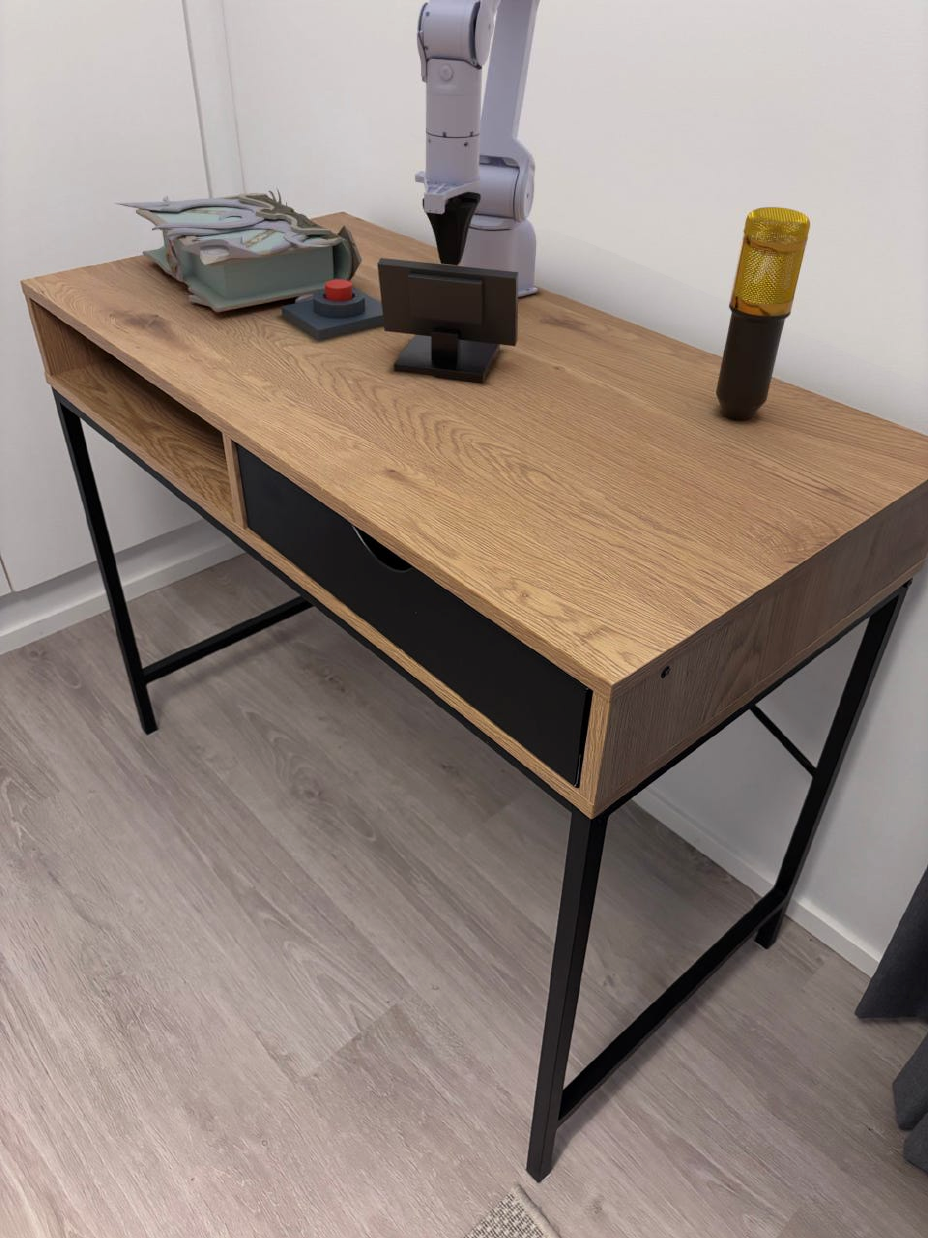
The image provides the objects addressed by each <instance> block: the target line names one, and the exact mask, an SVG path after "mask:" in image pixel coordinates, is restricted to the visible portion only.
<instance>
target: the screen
mask: <svg viewBox="0 0 928 1238" xmlns="http://www.w3.org/2000/svg"><path fill="white" fill-rule="evenodd" d="M376 264H377V265H376V266H377V273H378V283H379V291H380V292H379V293H380V300H381V301H380V302H381V303H382V312H383V321H384V325H383V330H384V332H387V333H388V332H390V333H398V334H406V335H413V336H415V335H422V336H431V332H432V330H433V329H434V327H437V328H446V329H455V330H461V340H465V341H474V342H482V343H491V344H500V346H509V347H516V345H517V343H518V338H519V337H518V333H519V331H518V330H519V327H518V326H519V297H518V272H512V271H502V270H492V269H483V268H473V267H464V266H460V265H457V266H456V265H448V264H441V263H434V262H425V261H414V260H405V259H395V258H385V257H380V258H379V259H378V261H377V263H376Z"/></svg>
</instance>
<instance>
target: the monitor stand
mask: <svg viewBox="0 0 928 1238" xmlns="http://www.w3.org/2000/svg"><path fill="white" fill-rule="evenodd" d="M500 351H501V345H500V344H491V343H482V342H474V341H465V340H461V330H455V329H446V328H437V327H434V329H433V330H432V332H431V336H422V335H413V337H412V338H411V340H410V341H409V343H408V344H407V345H406V346H405V348H404V349H403V351H402V352H401V353H400V355H399V356H398V357H397V359H396V360H395V362H394V363H393V372H398V373H404V374H413V375H421V376H429V377H430V376H431V377H434V378H437V379H439V378H440V379H447V380H455V381H463V382H471V383H479V384H480V383H481V384H484V382H485V380H486V378H487V376H488V374H489V372H490V370H491V368H492V367H493V365H494V363H495V361H496V358H497V357H498V355H499V353H500Z"/></svg>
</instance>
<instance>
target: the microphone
mask: <svg viewBox="0 0 928 1238" xmlns="http://www.w3.org/2000/svg"><path fill="white" fill-rule="evenodd" d="M810 228H811V220H810V218H809V217H808V215H806V214H805V213H803V212H801V211H798V210H796V209H791V208H787V207H779V206H778V207H777V206H764V207H758V208H755V209H753V210H751V211H750V212H749V213H748V214H747V216H746V219H745V224H744V229H743V231H742V236H741V241H740V247H739V252H738V257H737V263H736V267H735V272H734V278H733V282H732V283H733V284H732V288H731V293H730V298H729V303H728V309H729V310H730V311H731V313H730V318H729V324H728V328H727V334H726V339H725V344H724V349H723V353H722V359H721V365H720V370H719V373H718V374H719V375H718V380H717V384H716V391H715V395H716V398H717V400H718V403H719V405H720V408H721V410H722V413H723V415H724V416H725V417H727V418H729V419H731V420H734V421H747V420H749V419H750V418H751V417H753V415H755V413H756V412H758V410H759V409H760V408H761V407H762V406H763V405H764V404H766V402H767V399H768V395H769V391H770V386H771V383H772V378H773V373H774V369H775V365H776V360H777V356H778V351H779V347H780V343H781V340H782V339H781V338H782V335H783V330H784V325H785V321H786V319H787V318H788V317H790V315H791V313H792V309H793V305H794V300H795V294H796V290H797V286H798V280H799V276H800V272H801V269H802V263H803V260H804V256H805V250H806V247H807V244H808V239H809V233H810Z"/></svg>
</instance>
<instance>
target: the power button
mask: <svg viewBox="0 0 928 1238" xmlns="http://www.w3.org/2000/svg"><path fill="white" fill-rule="evenodd" d="M352 288H353V283H352V282H351V280H350V281H347V280H342V279H335V280H330V281H327V282H326V283H325V296H326V299H327V300H330V301H347V300H351V299H352Z"/></svg>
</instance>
